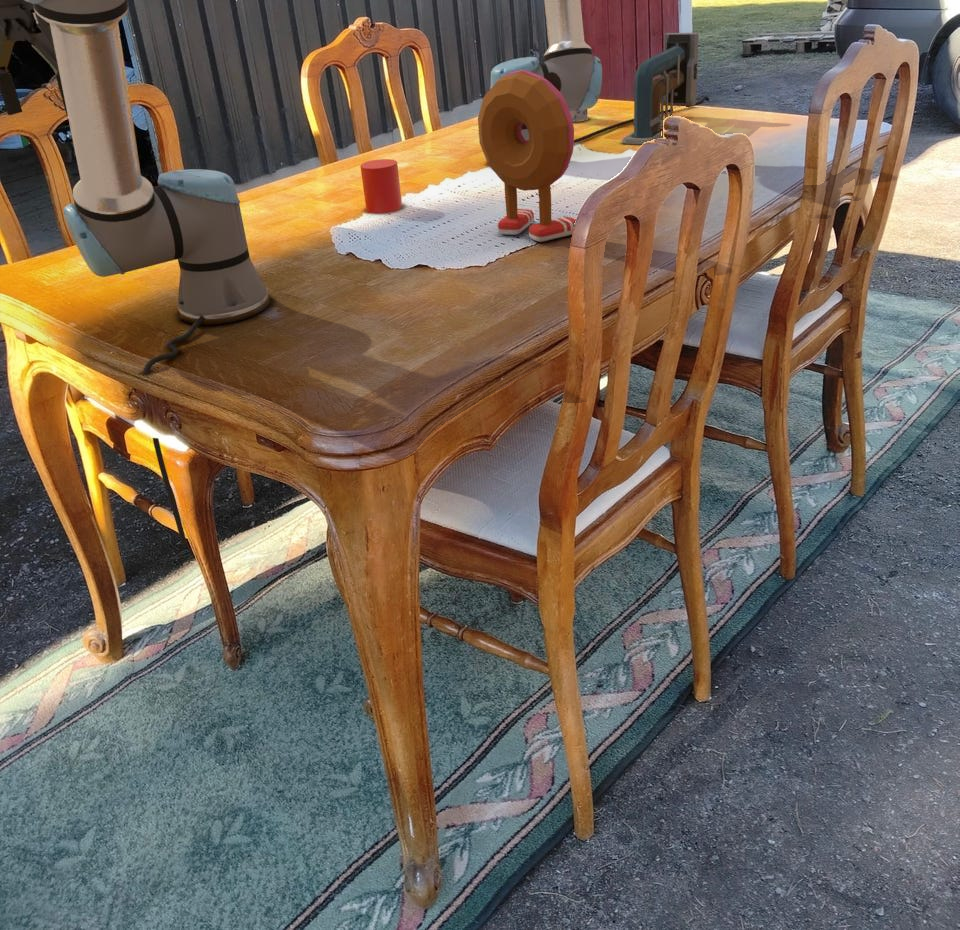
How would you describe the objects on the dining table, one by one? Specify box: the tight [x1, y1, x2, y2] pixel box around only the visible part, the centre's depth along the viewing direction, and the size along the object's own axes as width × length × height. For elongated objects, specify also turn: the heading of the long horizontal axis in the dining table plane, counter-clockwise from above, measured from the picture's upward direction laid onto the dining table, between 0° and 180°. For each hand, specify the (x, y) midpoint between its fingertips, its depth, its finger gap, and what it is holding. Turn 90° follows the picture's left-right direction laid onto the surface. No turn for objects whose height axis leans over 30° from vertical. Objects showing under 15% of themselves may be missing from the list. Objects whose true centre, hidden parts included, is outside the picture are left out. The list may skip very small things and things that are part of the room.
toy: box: [477, 70, 577, 243], centre depth 182 cm, size 21×10×30 cm, turn 47°
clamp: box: [621, 32, 699, 145], centre depth 254 cm, size 35×9×21 cm, turn 151°
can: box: [359, 158, 403, 215], centre depth 211 cm, size 8×8×10 cm
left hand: (44, 113), depth 170 cm, fingers open, 13 cm apart
